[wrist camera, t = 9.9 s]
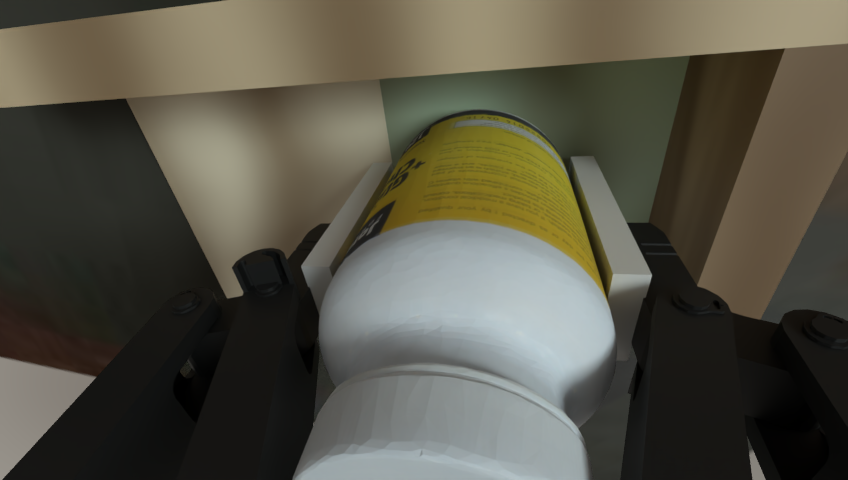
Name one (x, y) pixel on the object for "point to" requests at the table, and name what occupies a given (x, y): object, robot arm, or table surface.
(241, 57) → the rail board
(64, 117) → the table surface
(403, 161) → the pill bottle
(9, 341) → the table surface
